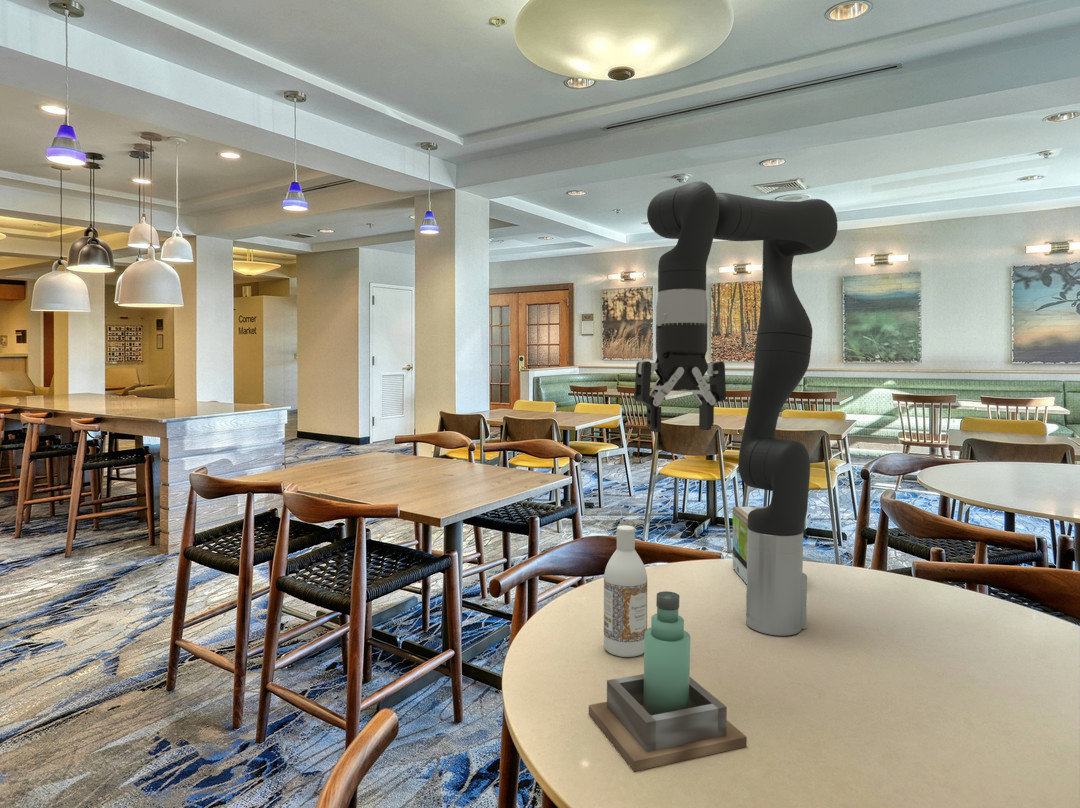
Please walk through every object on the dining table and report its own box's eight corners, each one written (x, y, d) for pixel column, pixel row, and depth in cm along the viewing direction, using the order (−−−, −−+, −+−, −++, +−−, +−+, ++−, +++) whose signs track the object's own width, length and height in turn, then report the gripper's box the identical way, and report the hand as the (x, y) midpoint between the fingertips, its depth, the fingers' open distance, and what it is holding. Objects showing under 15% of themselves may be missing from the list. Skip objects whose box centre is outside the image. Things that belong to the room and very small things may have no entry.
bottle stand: (688, 695, 90) (688, 662, 90) (746, 746, 78) (747, 708, 77) (588, 713, 85) (588, 678, 85) (634, 771, 73) (634, 730, 73)
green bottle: (673, 705, 85) (675, 585, 84) (697, 728, 80) (700, 600, 79) (635, 712, 83) (637, 590, 82) (657, 736, 78) (659, 605, 77)
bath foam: (622, 662, 100) (623, 534, 99) (595, 646, 106) (595, 525, 105) (655, 651, 104) (656, 528, 103) (627, 636, 110) (627, 520, 109)
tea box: (730, 569, 148) (731, 504, 147) (775, 569, 147) (776, 505, 147) (749, 591, 133) (751, 520, 132) (799, 592, 132) (800, 520, 132)
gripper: (708, 325, 102) (707, 427, 103) (627, 323, 98) (626, 430, 99) (737, 321, 95) (735, 431, 96) (651, 319, 91) (650, 434, 92)
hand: (680, 430), depth 97 cm, fingers open, 8 cm apart
